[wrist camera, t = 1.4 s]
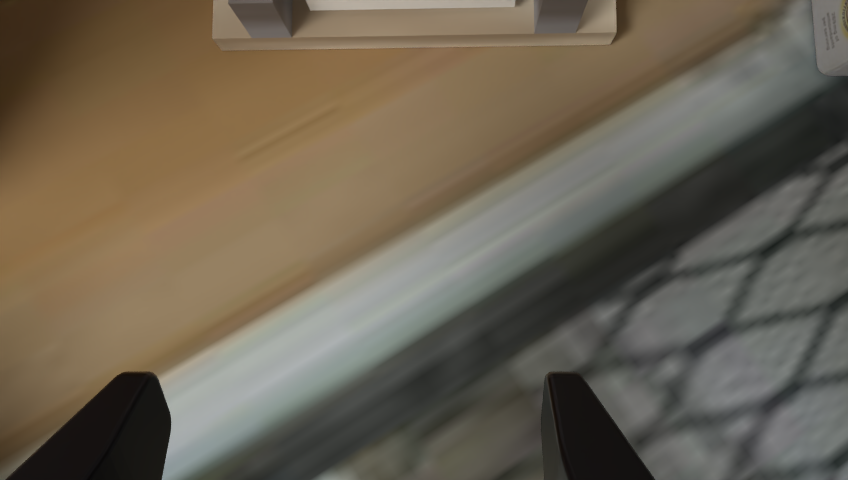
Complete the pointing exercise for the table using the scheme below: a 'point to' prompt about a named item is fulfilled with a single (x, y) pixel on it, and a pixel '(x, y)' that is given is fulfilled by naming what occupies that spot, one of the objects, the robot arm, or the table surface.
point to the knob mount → (410, 25)
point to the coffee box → (831, 36)
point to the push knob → (404, 4)
